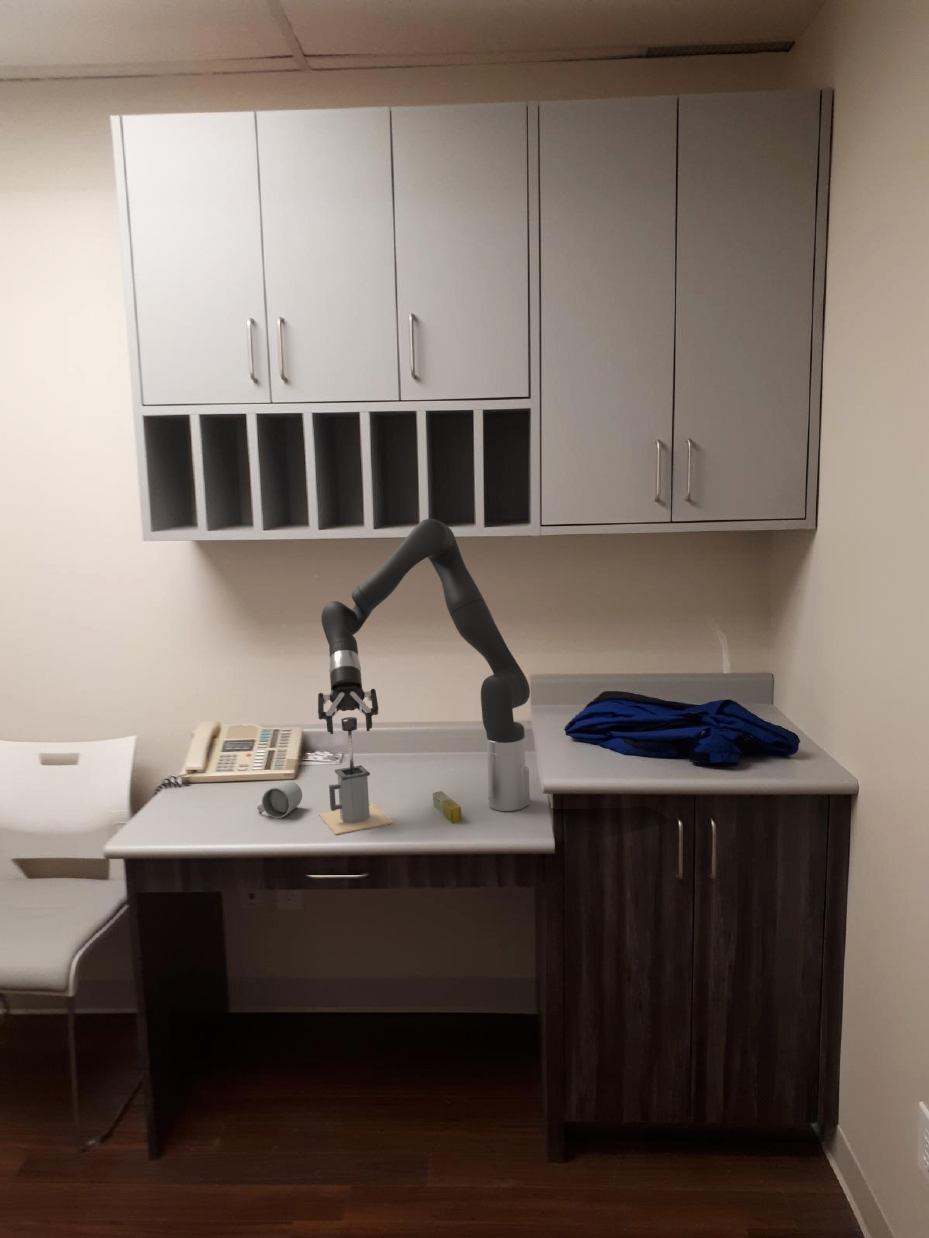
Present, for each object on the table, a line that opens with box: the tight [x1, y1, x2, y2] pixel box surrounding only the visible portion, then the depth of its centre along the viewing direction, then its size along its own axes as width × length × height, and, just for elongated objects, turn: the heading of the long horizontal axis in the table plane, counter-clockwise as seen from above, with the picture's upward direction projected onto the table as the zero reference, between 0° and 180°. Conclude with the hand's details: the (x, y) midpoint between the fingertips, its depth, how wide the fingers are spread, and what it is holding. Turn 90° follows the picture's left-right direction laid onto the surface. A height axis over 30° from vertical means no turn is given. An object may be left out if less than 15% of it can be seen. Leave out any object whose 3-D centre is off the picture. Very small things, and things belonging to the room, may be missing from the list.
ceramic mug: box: [257, 780, 303, 819], centre depth 222 cm, size 11×8×8 cm
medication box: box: [432, 790, 463, 824], centre depth 217 cm, size 12×3×4 cm, turn 24°
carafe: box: [318, 764, 393, 836], centre depth 215 cm, size 14×14×12 cm
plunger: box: [340, 716, 358, 775], centre depth 213 cm, size 4×4×14 cm
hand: (349, 731), depth 211 cm, fingers open, 8 cm apart
